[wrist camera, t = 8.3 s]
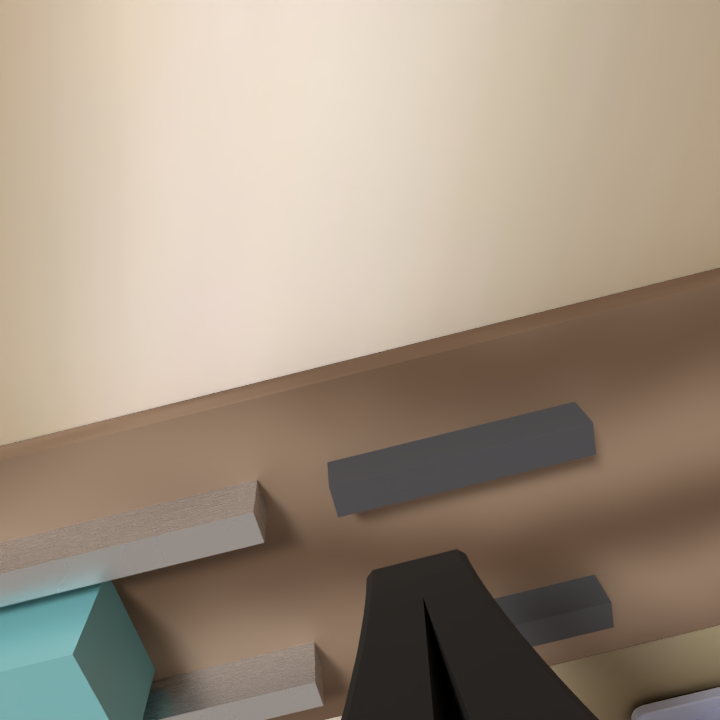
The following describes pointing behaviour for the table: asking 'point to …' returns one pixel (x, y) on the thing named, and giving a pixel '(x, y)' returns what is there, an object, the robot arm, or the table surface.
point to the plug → (72, 658)
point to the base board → (430, 513)
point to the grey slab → (161, 549)
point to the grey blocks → (476, 465)
